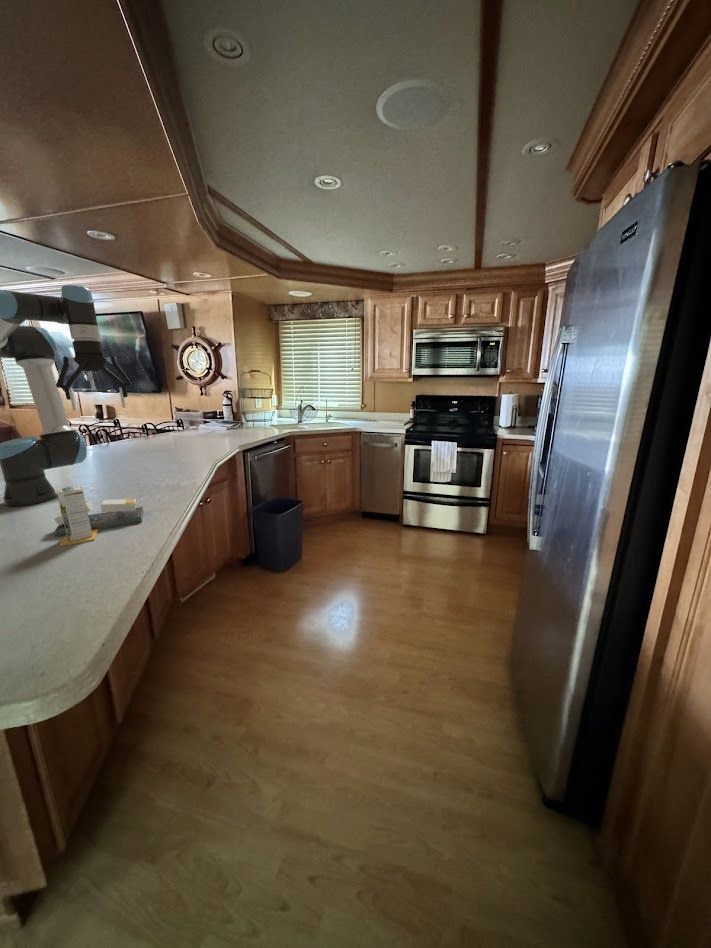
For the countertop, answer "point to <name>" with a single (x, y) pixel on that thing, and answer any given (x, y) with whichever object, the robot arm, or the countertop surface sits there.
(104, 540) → the countertop surface
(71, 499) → the syrup box
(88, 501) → the white flat block
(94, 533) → the pad
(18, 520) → the countertop surface
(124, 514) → the breaker panel
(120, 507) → the rocker
